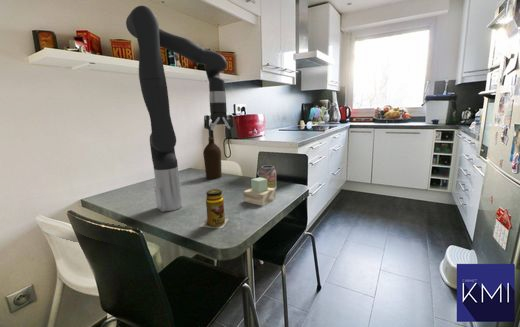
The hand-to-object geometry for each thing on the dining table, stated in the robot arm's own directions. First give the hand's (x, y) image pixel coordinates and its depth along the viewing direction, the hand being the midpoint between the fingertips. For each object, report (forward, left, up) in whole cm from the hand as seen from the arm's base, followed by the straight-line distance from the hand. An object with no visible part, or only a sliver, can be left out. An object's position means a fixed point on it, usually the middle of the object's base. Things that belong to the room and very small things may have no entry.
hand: (219, 137), depth 116 cm
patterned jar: (+18, -13, -27) cm, 35 cm away
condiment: (-21, -27, -28) cm, 44 cm away
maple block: (+6, -21, -28) cm, 35 cm away
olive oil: (+14, +31, -27) cm, 44 cm away
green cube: (+5, -21, -23) cm, 31 cm away
